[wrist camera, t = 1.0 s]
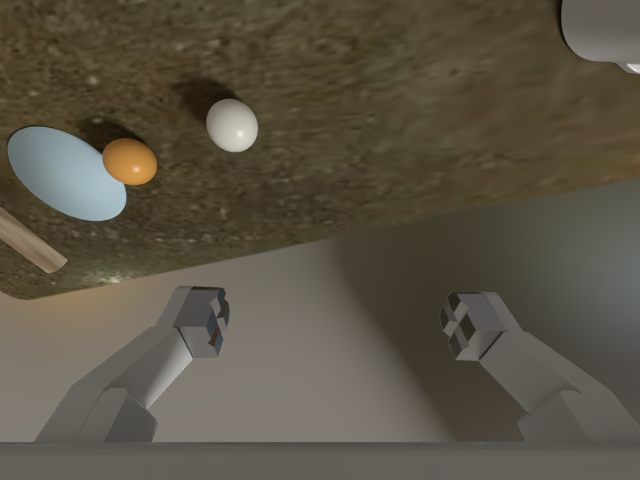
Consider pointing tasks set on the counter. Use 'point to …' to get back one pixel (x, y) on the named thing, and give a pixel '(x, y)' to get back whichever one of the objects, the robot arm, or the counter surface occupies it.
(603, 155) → the counter surface
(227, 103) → the ivory ball
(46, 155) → the blue mark
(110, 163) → the orange ball
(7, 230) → the wooden stop rail
